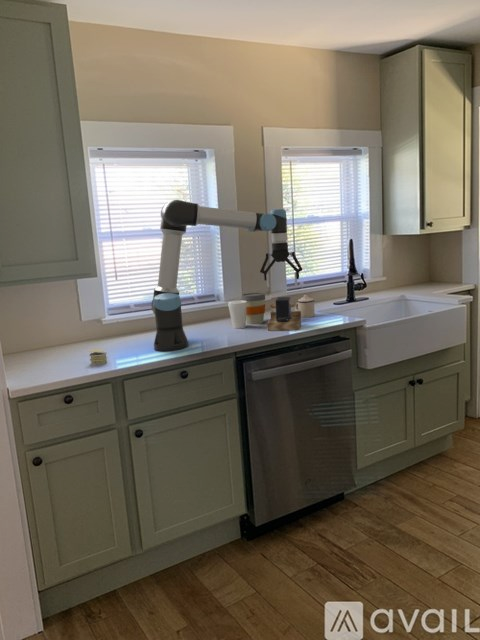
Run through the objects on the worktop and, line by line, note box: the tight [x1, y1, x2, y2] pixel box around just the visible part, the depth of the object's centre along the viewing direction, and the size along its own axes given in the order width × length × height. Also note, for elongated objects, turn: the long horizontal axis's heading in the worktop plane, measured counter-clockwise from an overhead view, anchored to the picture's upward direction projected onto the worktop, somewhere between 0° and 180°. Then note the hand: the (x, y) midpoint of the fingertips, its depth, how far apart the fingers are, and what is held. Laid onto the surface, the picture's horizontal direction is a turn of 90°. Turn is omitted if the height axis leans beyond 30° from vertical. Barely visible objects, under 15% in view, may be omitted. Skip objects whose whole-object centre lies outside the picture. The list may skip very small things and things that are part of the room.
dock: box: [266, 310, 302, 332], centre depth 265 cm, size 15×13×7 cm
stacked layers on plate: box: [88, 348, 108, 366], centre depth 220 cm, size 10×9×6 cm
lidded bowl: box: [270, 301, 296, 313], centre depth 283 cm, size 13×13×11 cm
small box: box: [274, 296, 291, 321], centre depth 263 cm, size 11×6×10 cm, turn 169°
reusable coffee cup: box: [241, 292, 266, 325], centre depth 285 cm, size 12×13×15 cm
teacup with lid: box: [295, 294, 316, 319], centre depth 293 cm, size 12×9×12 cm
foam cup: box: [227, 300, 247, 329], centre depth 274 cm, size 10×9×13 cm
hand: (282, 286), depth 261 cm, fingers open, 13 cm apart
